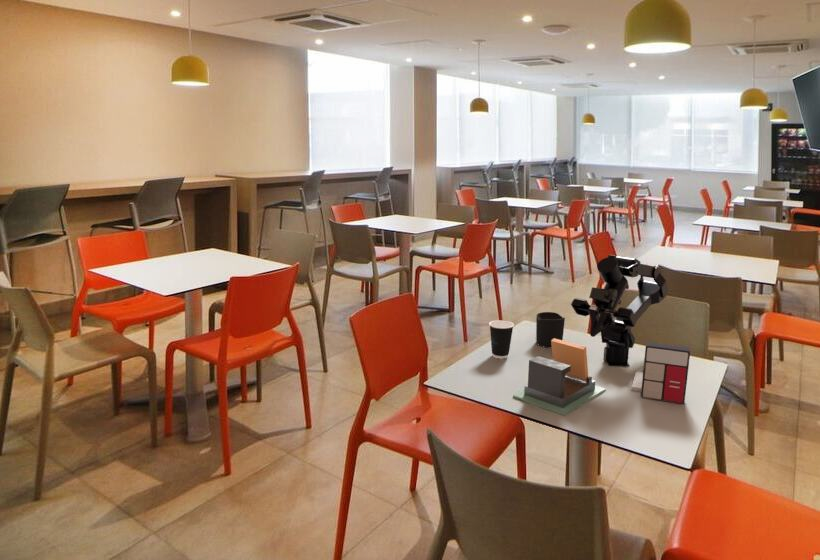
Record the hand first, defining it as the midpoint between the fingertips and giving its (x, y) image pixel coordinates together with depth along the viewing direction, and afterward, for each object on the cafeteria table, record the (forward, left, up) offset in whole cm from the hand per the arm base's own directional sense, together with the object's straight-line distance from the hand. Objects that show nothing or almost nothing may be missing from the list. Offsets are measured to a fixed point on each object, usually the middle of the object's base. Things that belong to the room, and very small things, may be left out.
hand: (591, 335), depth 179 cm
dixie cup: (+24, -17, -13) cm, 32 cm away
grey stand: (+11, +12, -12) cm, 20 cm away
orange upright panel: (+7, +8, -9) cm, 14 cm away
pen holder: (+6, -30, -13) cm, 33 cm away
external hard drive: (-16, +4, -14) cm, 22 cm away
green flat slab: (+11, +12, -13) cm, 21 cm away
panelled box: (-17, +14, -13) cm, 25 cm away
